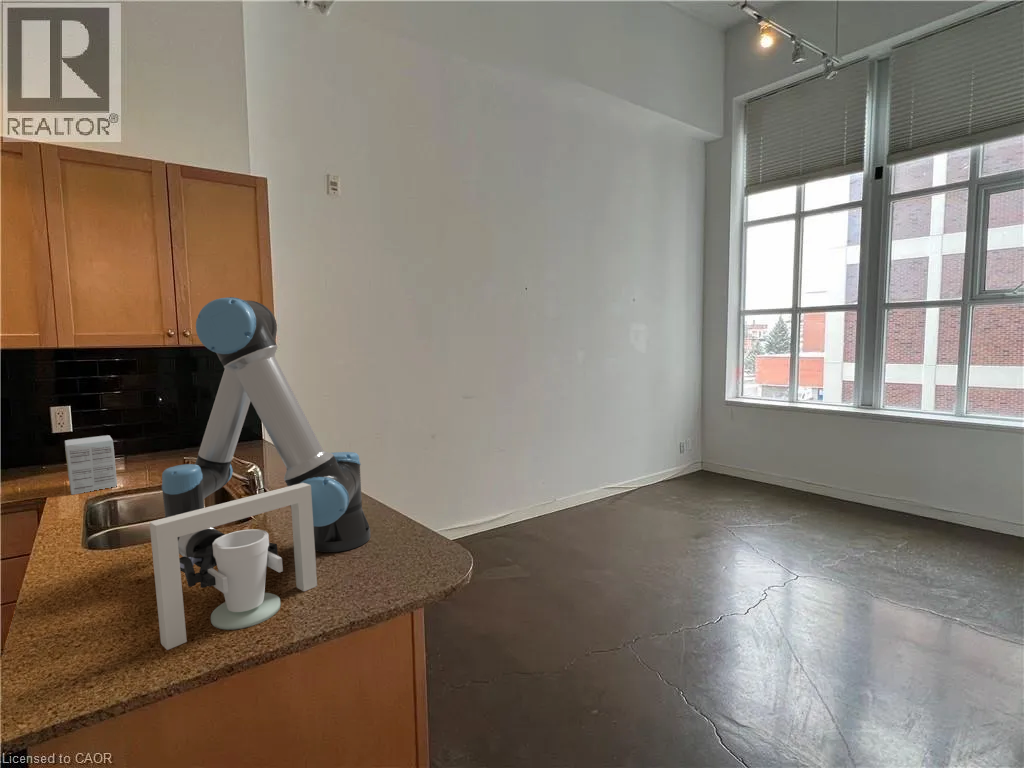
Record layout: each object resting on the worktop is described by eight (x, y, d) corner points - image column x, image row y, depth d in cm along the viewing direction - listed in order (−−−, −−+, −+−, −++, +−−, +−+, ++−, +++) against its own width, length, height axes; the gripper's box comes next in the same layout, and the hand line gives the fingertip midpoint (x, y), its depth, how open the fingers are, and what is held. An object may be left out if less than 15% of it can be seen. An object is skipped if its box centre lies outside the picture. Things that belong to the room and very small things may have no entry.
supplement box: (69, 487, 189) (64, 440, 187) (114, 480, 198) (110, 434, 196) (70, 495, 179) (65, 445, 178) (118, 487, 188) (113, 439, 186)
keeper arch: (298, 576, 116) (292, 479, 113) (329, 592, 108) (322, 488, 106) (152, 634, 94) (140, 516, 92) (177, 660, 86) (165, 531, 84)
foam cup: (280, 590, 106) (276, 528, 104) (260, 615, 96) (255, 547, 95) (232, 592, 105) (227, 530, 104) (207, 617, 96) (202, 549, 95)
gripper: (257, 545, 120) (310, 572, 106) (145, 582, 103) (190, 620, 89) (255, 514, 119) (308, 536, 105) (142, 546, 102) (186, 578, 88)
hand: (254, 575), depth 97 cm, fingers closed on foam cup, 9 cm apart
